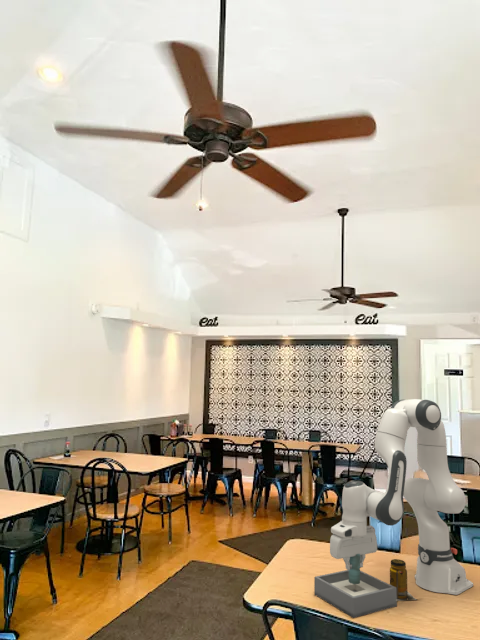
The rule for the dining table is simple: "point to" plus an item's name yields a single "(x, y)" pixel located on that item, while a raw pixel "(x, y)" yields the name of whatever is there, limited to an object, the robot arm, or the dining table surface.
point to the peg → (354, 569)
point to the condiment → (400, 579)
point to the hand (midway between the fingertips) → (354, 568)
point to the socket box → (355, 593)
